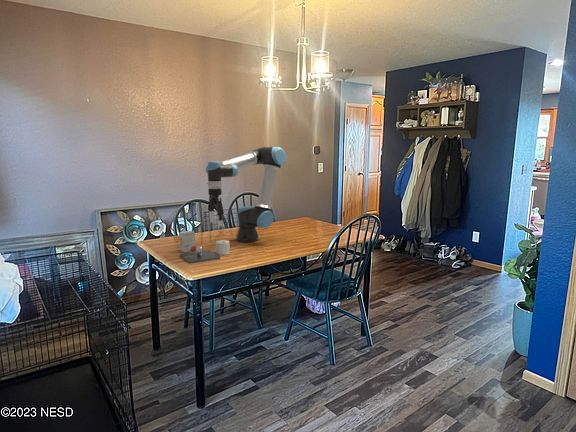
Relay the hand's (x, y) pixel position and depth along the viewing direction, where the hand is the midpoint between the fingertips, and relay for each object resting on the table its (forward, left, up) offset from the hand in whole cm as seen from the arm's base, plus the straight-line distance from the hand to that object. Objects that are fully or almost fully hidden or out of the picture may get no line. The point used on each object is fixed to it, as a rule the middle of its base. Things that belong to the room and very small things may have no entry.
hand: (216, 224), depth 232 cm
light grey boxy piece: (-3, +2, -18) cm, 18 cm away
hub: (+12, +4, -18) cm, 22 cm away
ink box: (+13, -15, -18) cm, 27 cm away
